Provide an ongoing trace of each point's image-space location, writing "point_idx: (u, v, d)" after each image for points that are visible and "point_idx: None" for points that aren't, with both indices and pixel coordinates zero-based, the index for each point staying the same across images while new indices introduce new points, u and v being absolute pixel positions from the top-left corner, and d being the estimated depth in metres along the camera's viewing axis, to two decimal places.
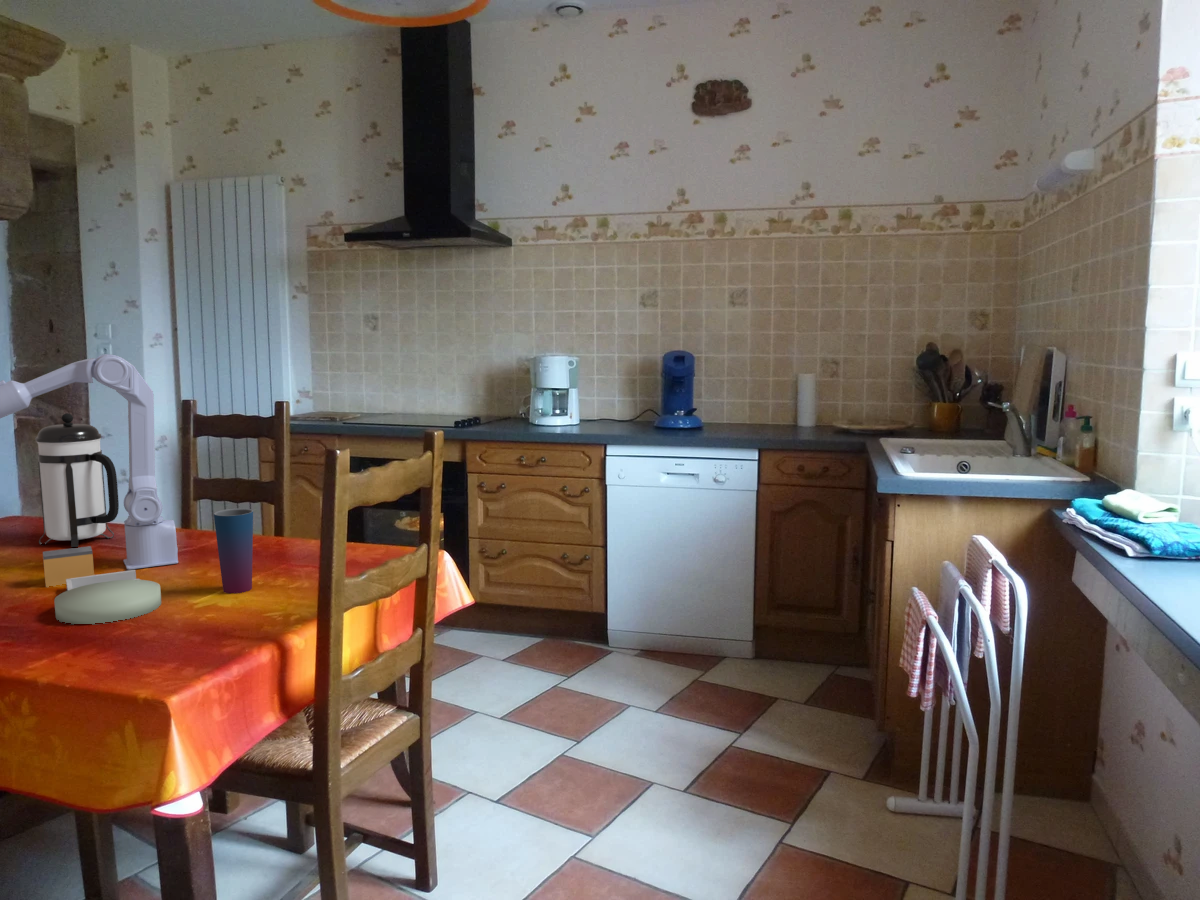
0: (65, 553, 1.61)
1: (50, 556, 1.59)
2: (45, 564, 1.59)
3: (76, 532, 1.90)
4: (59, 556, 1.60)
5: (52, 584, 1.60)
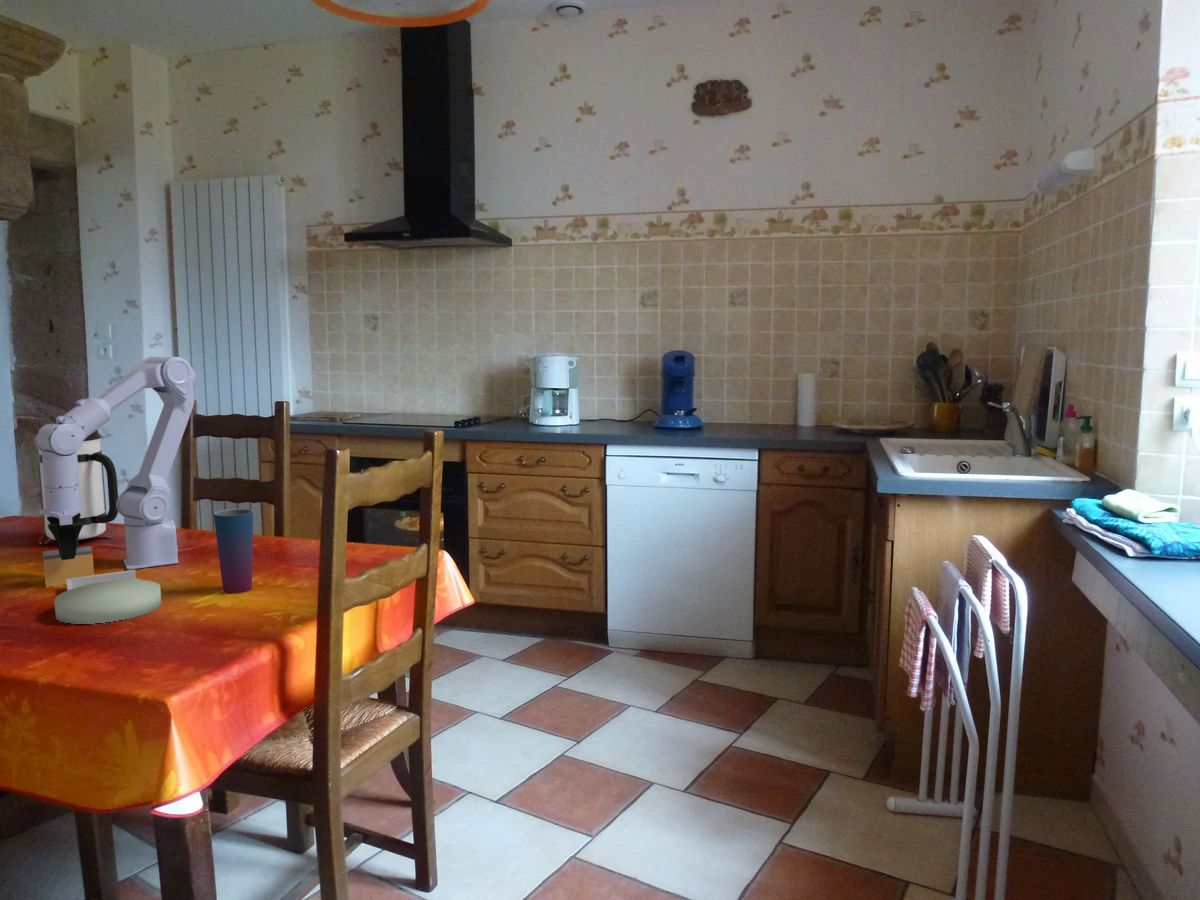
0: None
1: (50, 556, 1.59)
2: (45, 564, 1.59)
3: None
4: (59, 556, 1.60)
5: (52, 584, 1.60)
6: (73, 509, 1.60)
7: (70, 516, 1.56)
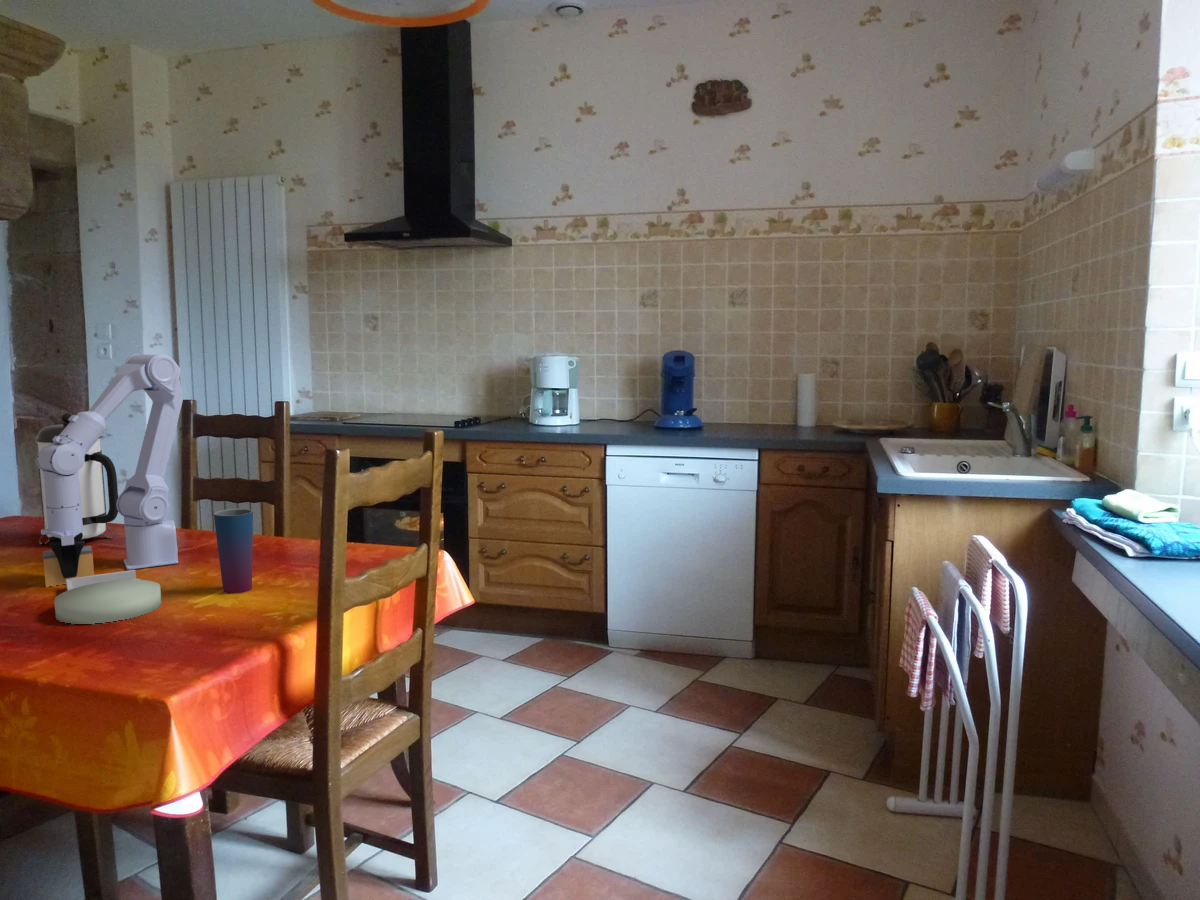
0: None
1: (50, 555, 1.59)
2: (45, 563, 1.59)
3: None
4: None
5: (52, 583, 1.60)
6: (75, 529, 1.61)
7: (72, 536, 1.57)
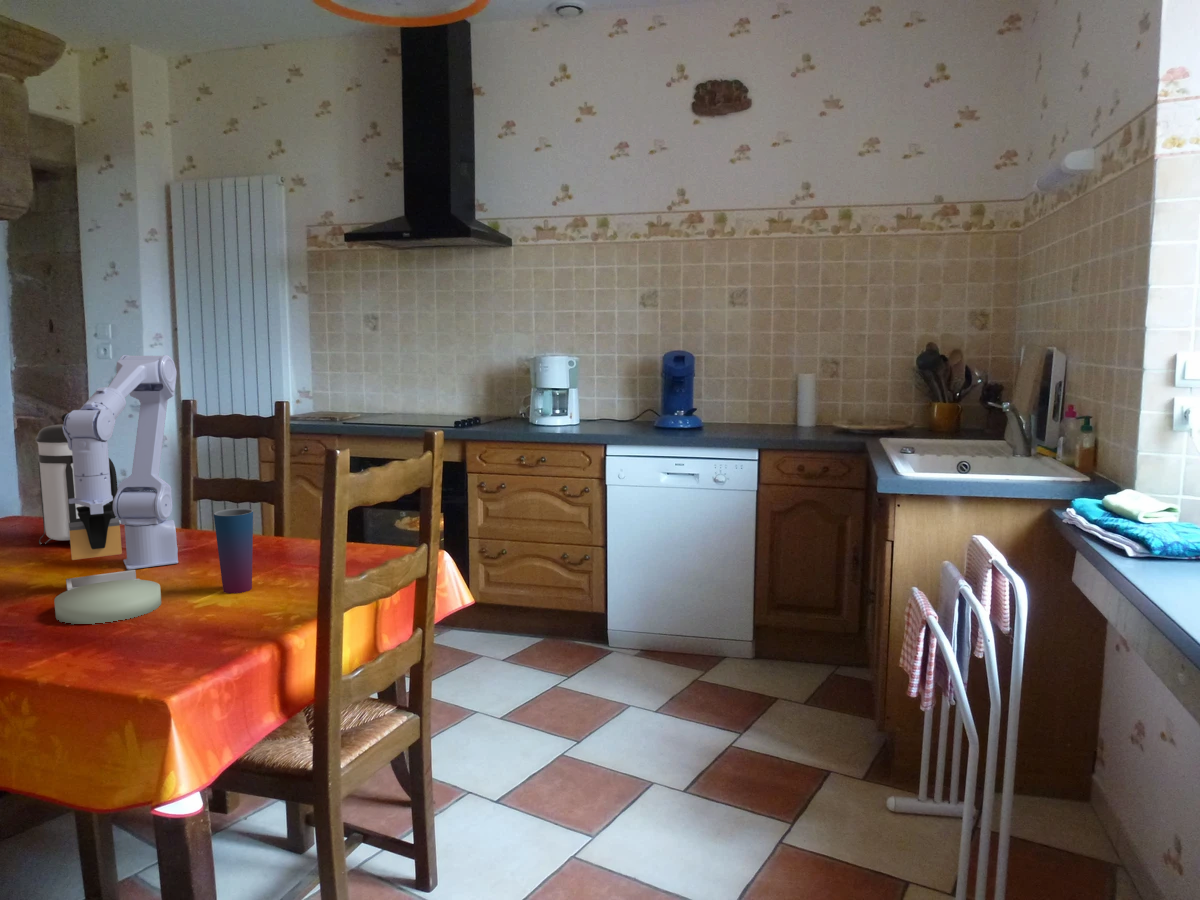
0: None
1: (76, 527, 1.53)
2: (71, 535, 1.53)
3: None
4: None
5: (78, 556, 1.54)
6: (103, 498, 1.55)
7: (101, 505, 1.51)
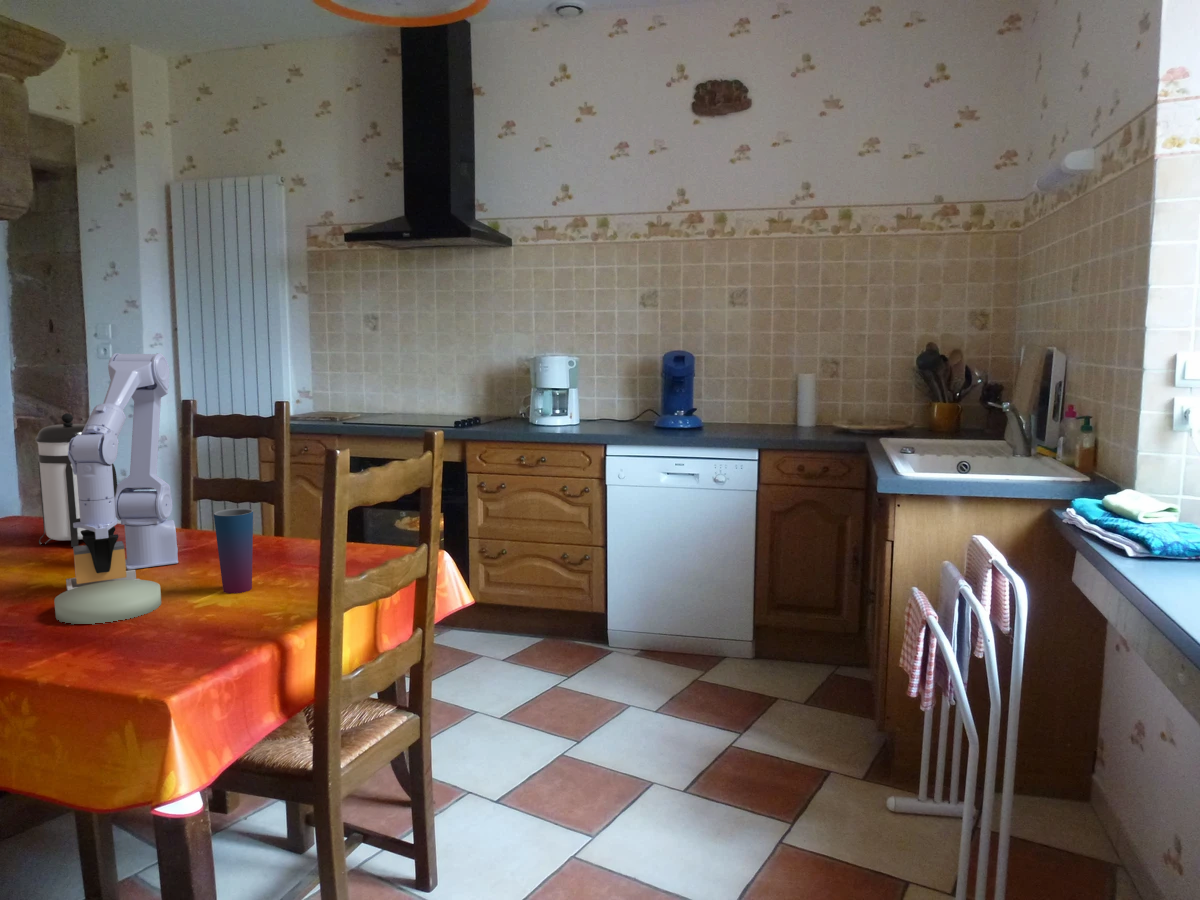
0: None
1: (81, 551, 1.54)
2: (76, 559, 1.53)
3: (76, 532, 1.90)
4: None
5: (83, 580, 1.54)
6: (108, 522, 1.55)
7: (106, 529, 1.51)
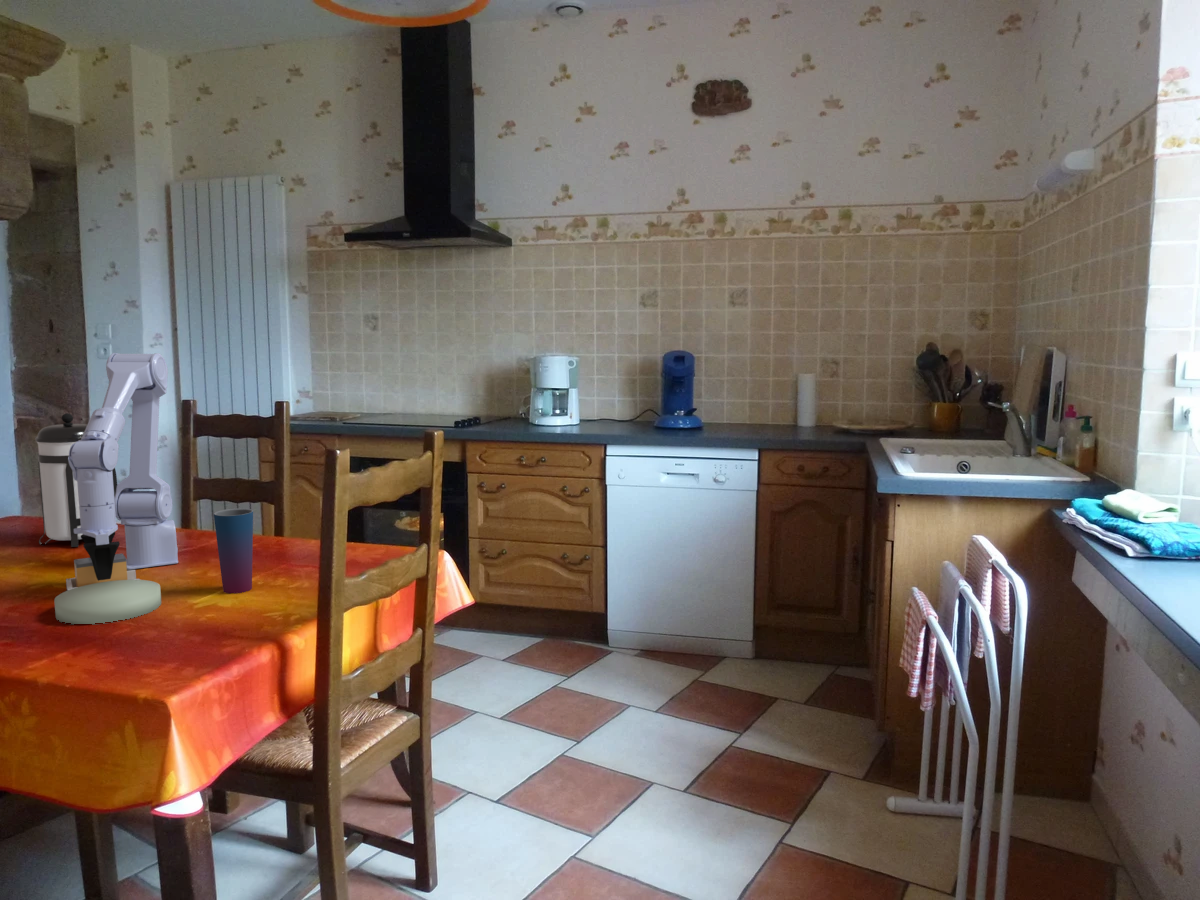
0: None
1: (83, 564, 1.54)
2: (78, 572, 1.54)
3: None
4: (92, 564, 1.55)
5: None
6: (109, 528, 1.55)
7: (106, 535, 1.51)
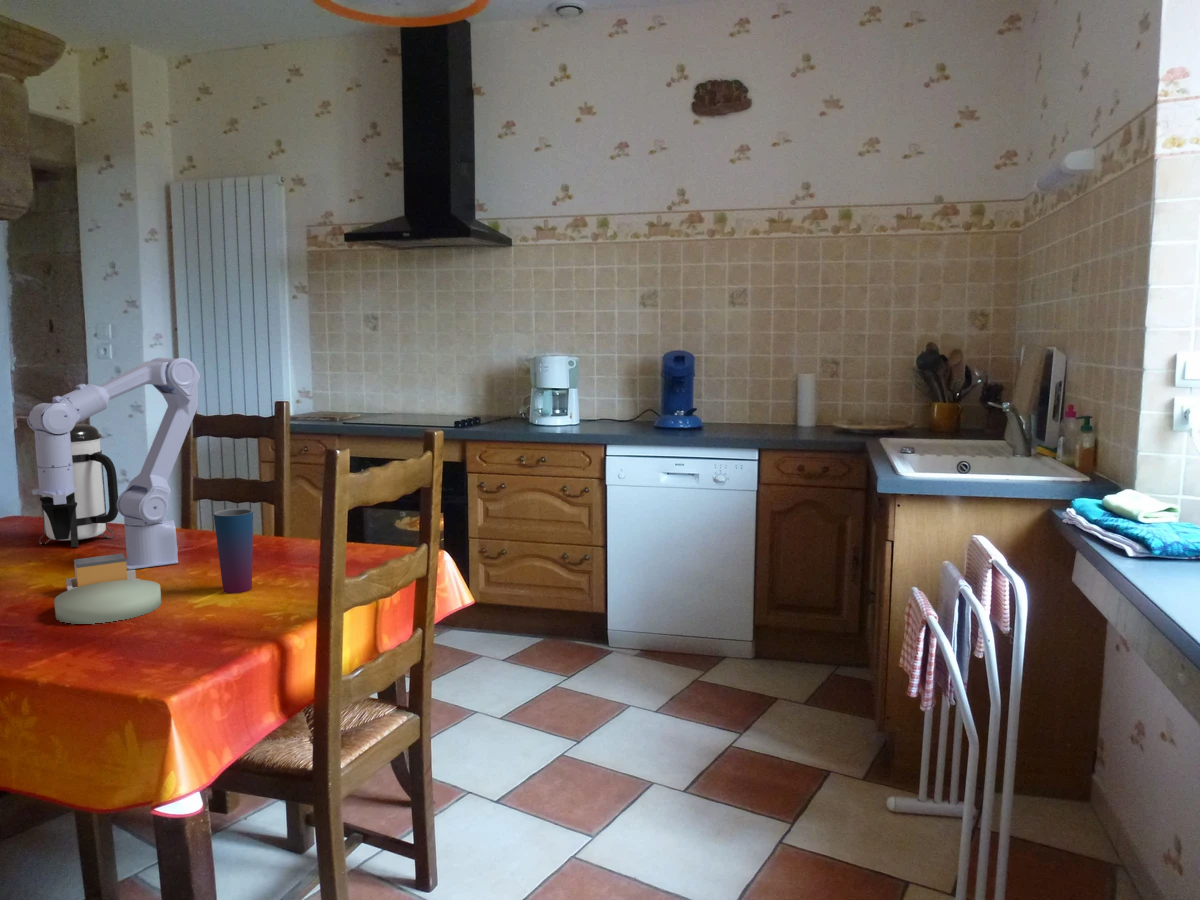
0: (98, 561, 1.56)
1: (83, 564, 1.54)
2: (78, 572, 1.54)
3: (76, 532, 1.90)
4: (92, 564, 1.55)
5: None
6: (67, 489, 1.59)
7: (64, 495, 1.55)
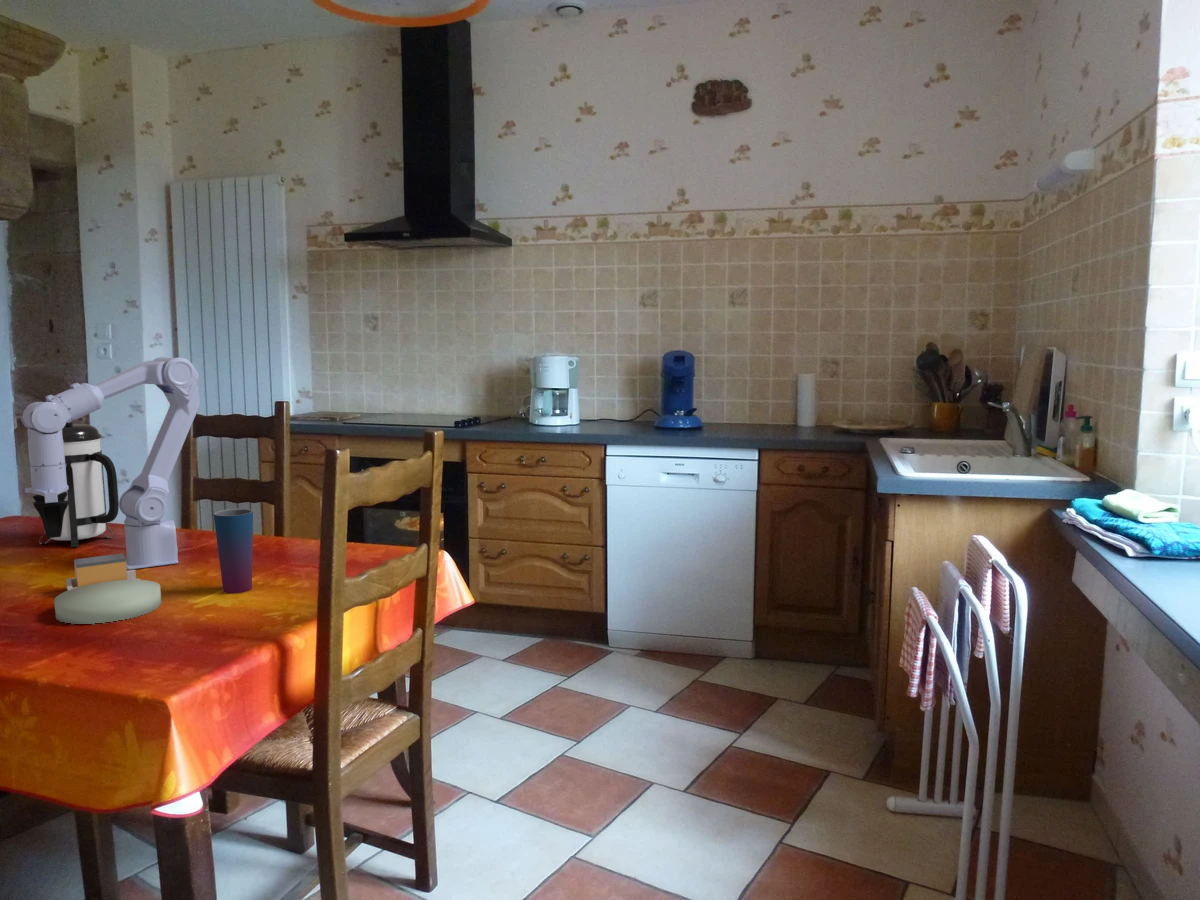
0: (98, 561, 1.56)
1: (83, 564, 1.54)
2: (78, 572, 1.54)
3: (76, 532, 1.90)
4: (92, 564, 1.55)
5: None
6: (59, 487, 1.60)
7: (55, 494, 1.56)
